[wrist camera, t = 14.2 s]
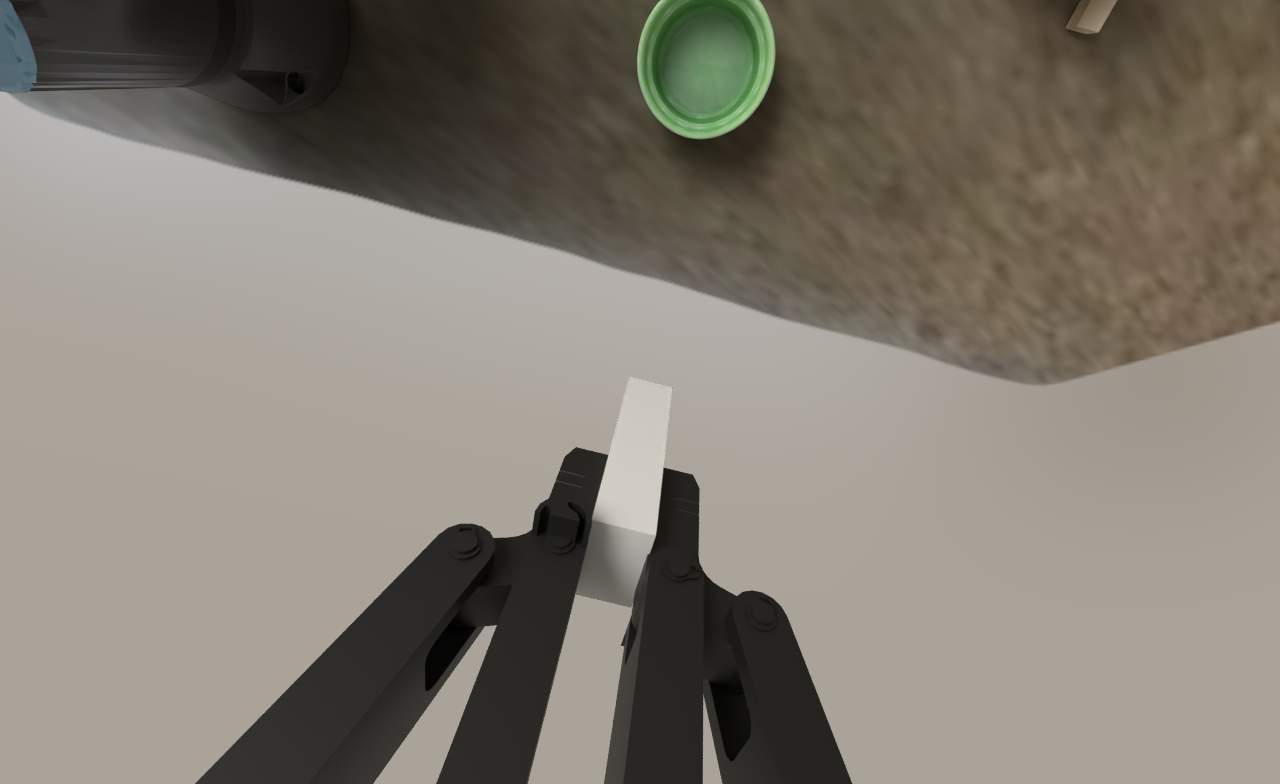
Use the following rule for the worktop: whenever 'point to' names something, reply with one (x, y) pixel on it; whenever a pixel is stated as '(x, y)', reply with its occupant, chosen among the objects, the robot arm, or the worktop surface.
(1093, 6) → the stop frame
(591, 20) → the worktop surface
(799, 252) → the worktop surface
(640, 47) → the ramekin
